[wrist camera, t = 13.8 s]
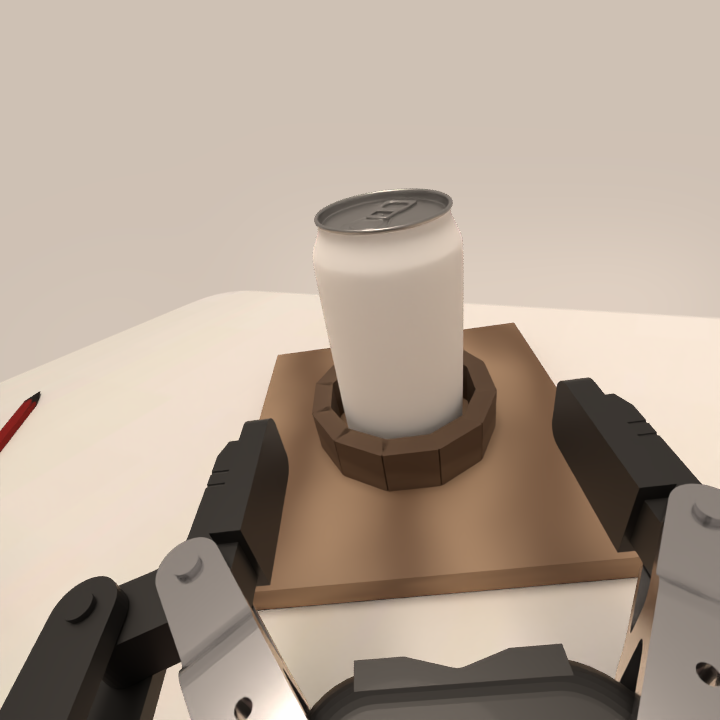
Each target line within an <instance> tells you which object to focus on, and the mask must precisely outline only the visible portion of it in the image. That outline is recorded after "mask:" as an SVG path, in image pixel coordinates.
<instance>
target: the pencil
mask: <svg viewBox="0 0 720 720" xmlns="http://www.w3.org/2000/svg"><path fill="white" fill-rule="evenodd" d="M39 395H40V392H38V393H36V394H35V395H33V396H32V397H30V398H28V399H27V400H25V401H24V403H23V404H22V405H21V406H20V407H19V409H18V410H17V411H16V412H15V413H14V415H13V416H12V417H11V418H10V420H9V421H8V422H7V423H6V424H5V426H4V427H3V428H2V429H1V431H0V452H1V451H2V449H3V448H4V447H5V446H6V444H7V443H8V442H9V440H10V439H11V438H12V436H13V435H14V434H15V433H16V431H17V430H18V429H19V427H20V426H21V425H22V424H23V422H24V421H25V420H26V418H27V417H28V416H29V414H30V413H31V412H32V411H33V409H34V408H35V407H36V405H37V402H38V399H39Z"/></svg>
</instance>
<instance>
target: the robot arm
mask: <svg viewBox="0 0 720 720" xmlns="http://www.w3.org/2000/svg"><path fill="white" fill-rule="evenodd" d="M552 431H553V436H554V439H555V442H556V444H557V446H558V448H559V450H560V451H561V453H562V455H563V457H564V459H565V460H566V462H567V464H568V466H569V467H570V469H571V471H572V473H573V475H574V476H575V478H576V480H577V482H578V483H579V485H580V487H581V489H582V491H583V492H584V494H585V496H586V498H587V499H588V501H589V503H590V505H591V507H592V508H593V510H594V512H595V514H596V515H597V517H598V519H599V521H600V523H601V524H602V526H603V528H604V530H605V531H606V533H607V535H608V537H609V538H610V540H611V542H612V544H613V546H614V547H615V549H616V551H617V553H620V552H630V551H636V553H637V554H638V556H639V557H640V559H641V561H642V564H641V567H640V570H639V575H638V580H637V585H636V590H635V595H634V600H633V605H632V610H631V615H630V620H629V625H628V630H627V635H626V639H625V643H624V647H623V651H622V654H621V657H620V660H619V664H618V667H617V671H616V676H615V679H613V678H611V677H610V676H608V675H606V674H605V673H603V672H601V671H598V670H596V669H594V668H592V667H590V666H587V665H584V664H581V663H578V662H575V661H571V660H568V658H567V656H566V653H565V650H564V648H563V645H562V644H552V645H540V646H528V647H515V648H508V649H506V650H503V651H501V652H499V653H496V654H494V655H491V656H489V657H487V658H484V659H482V660H479V661H477V662H475V663H472V664H470V665H467V666H465V667H462V668H452V667H448V666H443V665H439V664H434V663H430V662H425V661H421V660H416V659H412V658H407V657H393V658H381V659H369V660H357V661H354V676H353V677H351V678H349V679H346V680H345V681H343V682H341V683H340V684H338V685H336V686H335V687H334V688H332V689H331V690H330V691H329V692H327V693H326V694H325V695H324V696H323V697H322V698H321V699H320V700H319V701H318V702H317V703H316V704H315V705H314V706H313V707H312V709H311V708H310V706H309V705H308V703H307V701H306V699H305V697H304V696H303V694H302V692H301V690H300V688H299V687H298V685H297V683H296V681H295V680H294V678H293V676H292V675H291V673H290V671H289V669H288V667H287V666H286V664H285V662H284V660H283V658H282V656H281V655H280V653H279V651H278V649H277V647H276V645H275V643H274V642H273V640H272V638H271V636H270V634H269V632H268V630H267V629H266V627H265V625H264V623H263V621H262V619H261V618H260V616H259V614H258V612H257V610H256V608H255V606H254V605H253V599H254V594H255V589H256V587H257V586H267V585H270V584H271V578H272V572H273V566H274V560H275V554H276V548H277V542H278V536H279V530H280V524H281V518H282V512H283V506H284V500H285V494H286V488H287V482H288V476H289V463H288V457H287V453H286V451H285V448H284V445H283V443H282V440H281V437H280V434H279V432H278V429H277V426H276V424H275V422H274V420H273V419H272V418H269V419H261V420H254V421H247V422H245V424H244V426H243V429H242V432H241V435H240V438H239V440H238V441H231V442H229V443H228V444H227V445H226V447H225V448H224V449H223V450H222V451H221V453H220V454H219V455H218V456H217V459H216V462H215V465H214V467H213V470H212V475H210V478H209V481H208V484H207V488H206V489H205V492H204V495H203V497H202V500H201V503H200V505H199V508H198V511H197V514H196V516H195V519H194V522H193V524H192V527H191V530H190V533H189V535H188V538H187V540H186V541H185V542H183V543H181V544H179V545H178V546H176V547H175V548H174V549H173V550H172V551H170V552H169V553H168V555H167V556H166V557H165V558H164V560H163V561H162V562H161V564H160V566H159V568H158V569H157V570H155V571H153V572H150V573H148V574H146V575H143V576H141V577H138V578H136V579H134V580H131V581H129V582H126V583H124V584H122V585H119V586H118V585H117V584H116V583H115V582H114V581H113V580H112V579H111V578H109V577H105V576H98V577H94V578H90V579H88V580H86V581H84V582H82V583H80V584H78V585H77V586H75V587H74V588H73V589H71V590H70V591H69V592H68V593H67V594H66V595H65V596H64V597H63V598H62V599H61V600H60V601H59V602H58V603H57V605H56V606H55V608H54V609H53V611H52V612H51V614H50V616H49V618H48V620H47V622H46V624H45V625H44V627H43V629H42V631H41V633H40V635H39V637H38V639H37V641H36V643H35V645H34V646H33V648H32V650H31V652H30V654H29V656H28V658H27V660H26V662H25V664H24V666H23V668H22V669H21V671H20V673H19V675H18V677H17V679H16V681H15V683H14V685H13V687H12V689H11V690H10V692H9V694H8V696H7V698H6V700H5V702H4V704H3V706H2V708H1V710H0V720H153V717H154V713H155V710H156V706H157V702H158V699H159V695H160V691H161V688H162V684H163V680H164V677H165V673H166V669H167V668H169V667H171V666H173V665H175V664H178V663H180V662H181V663H182V669H181V670H180V671H179V682H180V686H181V690H182V693H183V696H184V699H185V702H186V705H187V708H188V712H189V715H190V718H191V720H720V489H717V488H714V487H711V486H707V485H702V484H701V483H700V482H699V480H698V479H697V478H696V477H695V476H694V475H693V473H692V472H691V471H690V470H689V469H688V468H687V467H686V465H685V464H684V463H683V462H682V461H681V460H680V459H679V457H678V456H677V455H676V454H675V453H674V452H673V451H672V449H671V448H670V447H669V446H668V445H667V444H666V442H665V441H664V440H663V439H662V438H661V437H660V436H659V435H657V432H656V431H655V430H654V429H653V428H652V426H651V425H650V424H649V423H646V419H645V418H644V417H643V416H642V415H641V414H640V413H639V411H638V410H637V409H636V408H635V407H634V406H633V405H632V404H630V403H629V402H627V401H625V400H624V399H622V398H620V397H619V396H617V395H615V394H606V395H605V394H604V393H603V392H602V390H601V389H600V388H599V387H598V385H597V384H596V383H595V382H594V381H593V380H592V379H591V378H581V379H573V380H565V381H560V382H559V383H558V384H557V388H556V396H555V403H554V410H553V418H552Z"/></svg>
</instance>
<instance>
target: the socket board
mask: <svg viewBox="0 0 720 720" xmlns="http://www.w3.org/2000/svg"><path fill="white" fill-rule="evenodd" d="M555 396H556V386H555V385H554V383H553V381H552V380H551V378H550V377H549V375H548V374H547V372H546V371H545V369H544V368H543V366H542V365H541V363H540V362H539V360H538V359H537V357H536V356H535V354H534V352H533V351H532V349H531V348H530V346H529V345H528V343H527V342H526V340H525V339H524V337H523V336H522V334H521V333H520V331H519V330H518V328H517V327H516V325H515V324H514V323H508V324H501V325H493V326H486V327H479V328H472V329H464V330H463V405H462V416H460V417H459V418H457V419H455V420H453V421H452V422H450V423H448V424H447V425H445V426H443V427H441V428H440V429H438V430H436V431H434V432H433V433H431V434H427V435H419V436H411V437H402V438H394V439H383V438H380V437H376V436H373V435H369V434H366V433H362V432H359V431H356V430H352V429H349V428H348V424H347V420H346V416H345V412H344V407H343V403H342V398H341V393H340V389H339V384H338V380H337V375H336V370H335V366H334V361H333V357H332V352H331V348H327V349H319V350H312V351H305V352H298V353H290V354H283V355H278V356H277V360H276V363H275V367H274V370H273V374H272V377H271V381H270V384H269V388H268V391H267V395H266V398H265V402H264V405H263V409H262V412H261V416H260V419H259V420H261V419H269V418H272V419H273V420H274V422H275V424H276V426H277V429H278V432H279V434H280V437H281V440H282V443H283V445H284V448H285V451H286V453H287V457H288V463H289V476H288V482H287V488H286V494H285V500H284V506H283V512H282V518H281V524H280V530H279V536H278V542H277V548H276V554H275V560H274V566H273V572H272V578H271V584H270V585H267V586H257V587H256V589H255V594H254V599H253V605H254V606H255V608H256V610H264V609H275V608H287V607H298V606H310V605H321V604H333V603H344V602H356V601H368V600H379V599H391V598H402V597H414V596H425V595H437V594H448V593H460V592H471V591H483V590H494V589H506V588H517V587H529V586H540V585H552V584H563V583H575V582H586V581H598V580H609V579H621V578H632V577H638V575H639V570H640V567H641V564H642V561H641V559H640V557H639V556H638V554H637V553H636V551H630V552H620V553H617V551H616V549H615V547H614V546H613V544H612V542H611V540H610V538H609V537H608V535H607V533H606V531H605V530H604V528H603V526H602V524H601V523H600V521H599V519H598V517H597V515H596V514H595V512H594V510H593V508H592V507H591V505H590V503H589V501H588V499H587V498H586V496H585V494H584V492H583V491H582V489H581V487H580V485H579V483H578V482H577V480H576V478H575V476H574V475H573V473H572V471H571V469H570V467H569V466H568V464H567V462H566V460H565V459H564V457H563V455H562V453H561V451H560V450H559V448H558V446H557V444H556V442H555V439H554V436H553V431H552V418H553V410H554V403H555Z"/></svg>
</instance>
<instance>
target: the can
mask: <svg viewBox="0 0 720 720" xmlns="http://www.w3.org/2000/svg"><path fill="white" fill-rule="evenodd" d="M452 204H453V202H452V199H451V197H450V196H449V195H447V194H445V193H442V192H439V191H434V190H428V189H393V190H385V191H377V192H371V193H366V194H361V195H357V196H353V197H349V198H346V199H343V200H340V201H337V202H335V203H333V204H330V205H328V206H326V207H325V208H323V209H322V210H320V211H319V212H318V213H317V214H316V216H315V219H314V222H315V224H316V226H318V233H317V238H316V241H315V245H314V250H313V265H314V270H315V275H316V281H317V286H318V290H319V295H320V300H321V305H322V310H323V314H324V319H325V324H326V329H327V333H328V338H329V343H330V347H331V352H332V357H333V361H334V366H335V370H336V375H337V380H338V384H339V389H340V393H341V398H342V403H343V407H344V412H345V416H346V420H347V424H348V428H349V429H352V430H356V431H359V432H362V433H366V434H369V435H373V436H376V437H380V438H383V439H394V438H402V437H411V436H419V435H427V434H431V433H433V432H434V431H436V430H438V429H440V428H441V427H443V426H445V425H447V424H448V423H450V422H452V421H453V420H455V419H457V418H459V417H460V416H462V405H463V240H462V235H461V232H460V230H459V228H458V226H457V224H456V222H455V220H454V218H453V216H452V214H451V210H450V209H451V207H452Z"/></svg>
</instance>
